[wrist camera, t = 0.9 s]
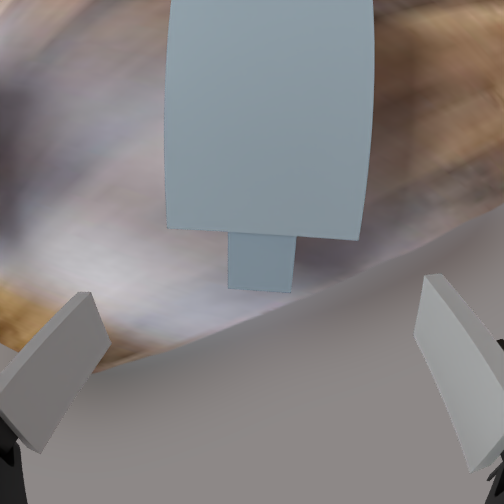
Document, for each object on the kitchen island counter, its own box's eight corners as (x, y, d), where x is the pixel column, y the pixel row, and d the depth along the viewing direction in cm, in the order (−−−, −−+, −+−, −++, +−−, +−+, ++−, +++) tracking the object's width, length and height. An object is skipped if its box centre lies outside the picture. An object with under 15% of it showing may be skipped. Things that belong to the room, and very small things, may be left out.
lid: (184, 267, 27) (172, 287, 24) (189, -23, 17) (176, -40, 13) (339, 278, 26) (347, 299, 23) (359, -17, 16) (369, -35, 12)
